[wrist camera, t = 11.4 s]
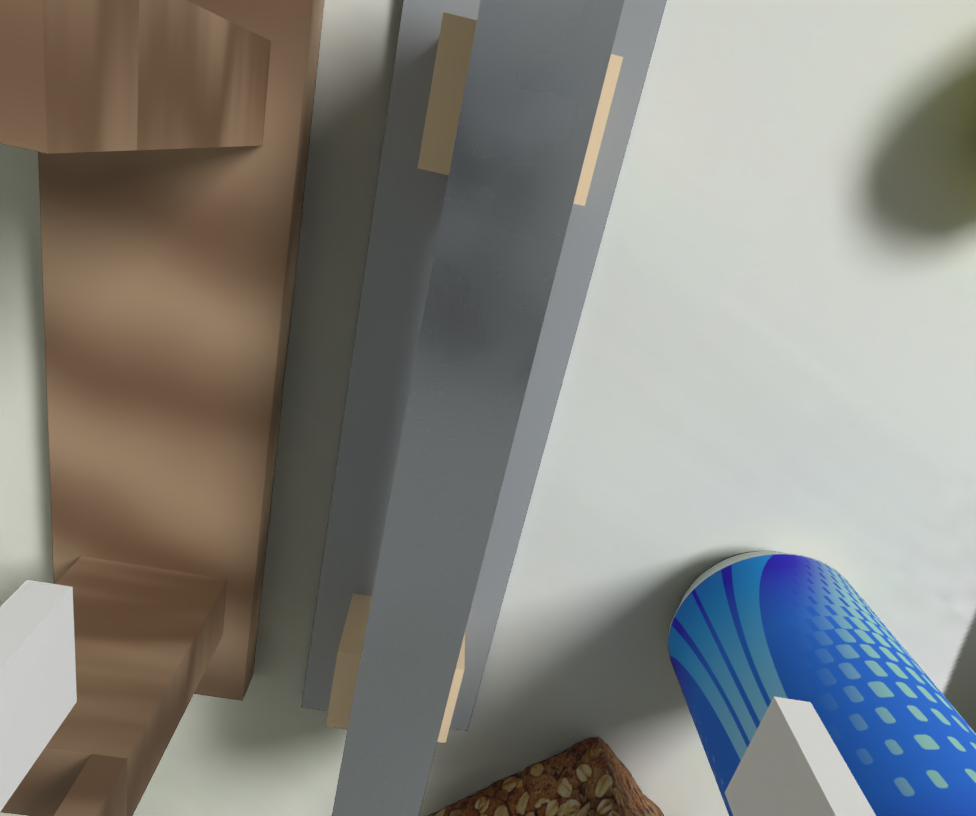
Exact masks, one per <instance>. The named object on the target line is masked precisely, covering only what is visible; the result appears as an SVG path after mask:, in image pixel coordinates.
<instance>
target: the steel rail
mask: <svg viewBox="0 0 976 816" xmlns="http://www.w3.org/2000/svg"><path fill="white" fill-rule="evenodd" d="M624 1H625V0H481V1H480V6H479V12H478V17H477V23H476V28H475V34H474V39H473V45H472V50H471V56H470V61H469V67H468V72H467V78H466V83H465V89H464V94H463V100H462V105H461V110H460V116H459V121H458V127H457V132H456V138H455V143H454V149H453V154H452V160H451V165H450V171H449V176H448V182H447V187H446V193H445V198H444V204H443V209H442V215H441V220H440V226H439V231H438V237H437V242H436V248H435V253H434V259H433V264H432V270H431V275H430V281H429V286H428V291H427V297H426V302H425V308H424V313H423V319H422V324H421V330H420V335H419V341H418V346H417V352H416V357H415V363H414V368H413V374H412V379H411V385H410V390H409V396H408V401H407V407H406V412H405V418H404V423H403V429H402V434H401V440H400V445H399V451H398V456H397V461H396V467H395V472H394V478H393V483H392V489H391V494H390V500H389V505H388V511H387V516H386V522H385V527H384V533H383V538H382V544H381V549H380V555H379V560H378V566H377V571H376V577H375V582H374V588H373V593H372V599H371V604H370V610H369V615H368V621H367V626H366V632H365V637H364V642H363V648H362V653H361V659H360V664H359V670H358V675H357V681H356V686H355V692H354V697H353V703H352V708H351V714H350V719H349V725H348V730H347V736H346V741H345V747H344V752H343V758H342V763H341V769H340V774H339V780H338V785H337V791H336V796H335V802H334V807H333V812H332V816H419V812H420V808H421V804H422V800H423V796H424V792H425V788H426V784H427V780H428V776H429V772H430V768H431V764H432V760H433V756H434V753H435V749H436V745H437V741H438V737H439V733H440V729H441V725H442V721H443V717H444V713H445V709H446V705H447V701H448V697H449V693H450V689H451V685H452V681H453V677H454V673H455V669H456V665H457V662H458V658H459V654H460V650H461V646H462V642H463V638H464V634H465V630H466V626H467V622H468V618H469V614H470V610H471V606H472V602H473V598H474V594H475V590H476V586H477V582H478V578H479V574H480V570H481V567H482V563H483V559H484V555H485V551H486V547H487V543H488V539H489V535H490V531H491V527H492V523H493V519H494V515H495V511H496V507H497V503H498V499H499V495H500V491H501V487H502V483H503V479H504V476H505V472H506V468H507V464H508V460H509V456H510V452H511V448H512V444H513V440H514V436H515V432H516V428H517V424H518V420H519V416H520V412H521V408H522V404H523V400H524V396H525V392H526V388H527V384H528V381H529V377H530V373H531V369H532V365H533V361H534V357H535V353H536V349H537V345H538V341H539V337H540V333H541V329H542V325H543V321H544V317H545V313H546V309H547V305H548V301H549V297H550V293H551V290H552V286H553V282H554V278H555V274H556V270H557V266H558V262H559V258H560V254H561V250H562V246H563V242H564V238H565V234H566V230H567V226H568V222H569V218H570V214H571V210H572V206H573V202H574V198H575V195H576V191H577V187H578V183H579V179H580V175H581V171H582V167H583V163H584V159H585V155H586V151H587V147H588V143H589V139H590V135H591V131H592V127H593V123H594V119H595V115H596V111H597V107H598V104H599V100H600V96H601V92H602V88H603V84H604V80H605V76H606V72H607V68H608V64H609V60H610V56H611V52H612V48H613V44H614V40H615V36H616V32H617V28H618V24H619V20H620V16H621V12H622V9H623V5H624Z"/></svg>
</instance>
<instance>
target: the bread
mask: <svg viewBox="0 0 976 816" xmlns="http://www.w3.org/2000/svg"><path fill="white" fill-rule="evenodd" d="M429 816H664V815H663V813H662V811H661V810H660V808H659V807H658V806H657V805H656V804H655V803H654V802H652V801H650V799H648V798H647V797H646V796H645V795H643V793H642V792H641V790H640V788H639V787H638V785H637V783H636V782H635V780H634V778H633V777H632V775H631V773H630V772H629V770H628V769H627V768H626V767H625V766H624V764H623V763H622V762H621V761H620V760H619V759H618V758H617V757H616V755H615V754H614V753H613V751H612V750H611V749H610V747H609V746H608V745H607V744H605V743H604V742H603V741H602V739H601V738H600V737H599V738H597V739H592V738H589V739H587V740H584V741H582V742H580V743H578V744H575V745H573V746H571V747H570V748H569V749H568V750H567V752H565V753H562V754H559V755H557V756H554V757H552V758H550V759H547V760H545V761H543V762H541V763H537V764H533V765H531V766H529V767H527V768H525V769H524V770H523V771H522V773H521V774H520V775H513V776H510V777H507V778H504V779H502V780H499V781H497V782H494V783H493V784H492V785H491V786H490V787H489V788H488V789H486V790H483V791H478V792H477V793H476V794H475V795H474V796H470V797H467V798H464V799H462V800H461V801H459V802H458V803H457V804H453V805H449V806H447V807H445V808H444V809H442V810H441V811H439V812H438V813H436V814H434V815H429Z"/></svg>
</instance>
